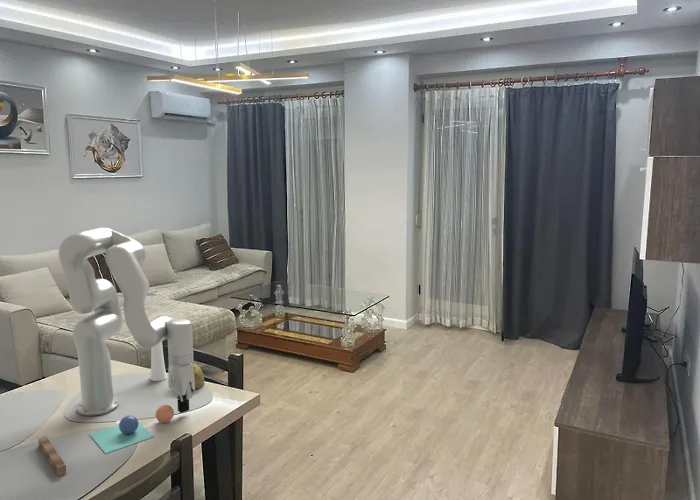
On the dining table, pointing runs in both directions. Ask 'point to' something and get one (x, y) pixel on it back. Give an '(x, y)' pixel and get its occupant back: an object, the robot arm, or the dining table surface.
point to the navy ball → (128, 424)
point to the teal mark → (119, 438)
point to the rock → (198, 376)
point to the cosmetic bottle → (157, 363)
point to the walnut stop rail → (52, 456)
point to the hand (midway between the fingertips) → (183, 410)
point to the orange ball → (164, 413)
